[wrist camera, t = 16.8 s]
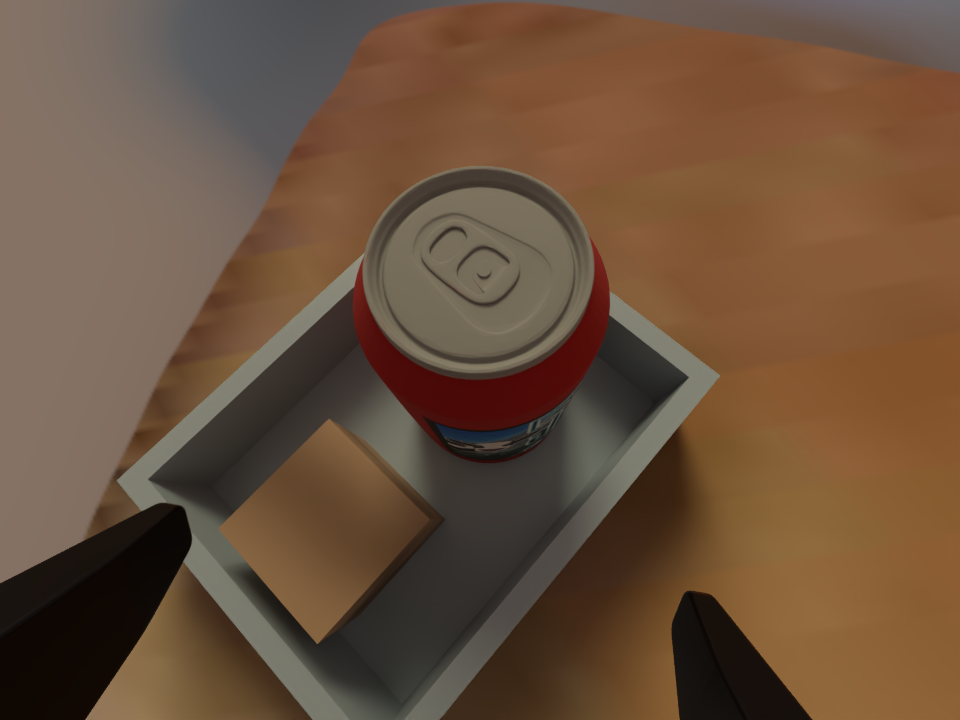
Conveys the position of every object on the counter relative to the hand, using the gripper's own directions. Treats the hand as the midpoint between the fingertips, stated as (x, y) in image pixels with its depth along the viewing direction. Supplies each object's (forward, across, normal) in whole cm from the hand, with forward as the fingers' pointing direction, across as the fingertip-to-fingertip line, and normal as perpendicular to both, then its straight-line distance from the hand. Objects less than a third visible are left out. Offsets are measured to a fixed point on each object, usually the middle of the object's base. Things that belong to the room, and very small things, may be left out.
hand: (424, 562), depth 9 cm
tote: (+12, +2, +7) cm, 14 cm away
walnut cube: (+9, +4, +9) cm, 14 cm away
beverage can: (+14, 0, +5) cm, 14 cm away
